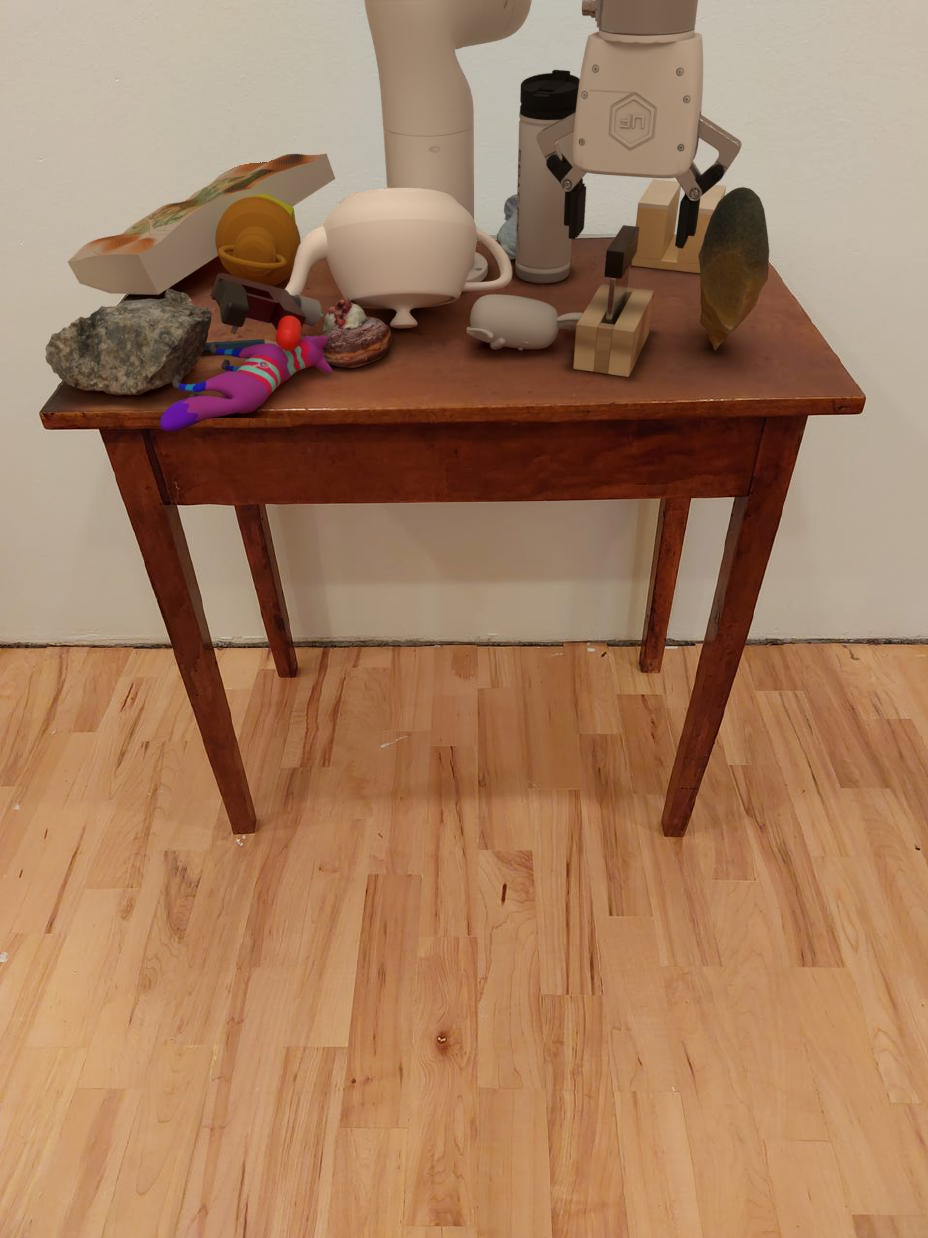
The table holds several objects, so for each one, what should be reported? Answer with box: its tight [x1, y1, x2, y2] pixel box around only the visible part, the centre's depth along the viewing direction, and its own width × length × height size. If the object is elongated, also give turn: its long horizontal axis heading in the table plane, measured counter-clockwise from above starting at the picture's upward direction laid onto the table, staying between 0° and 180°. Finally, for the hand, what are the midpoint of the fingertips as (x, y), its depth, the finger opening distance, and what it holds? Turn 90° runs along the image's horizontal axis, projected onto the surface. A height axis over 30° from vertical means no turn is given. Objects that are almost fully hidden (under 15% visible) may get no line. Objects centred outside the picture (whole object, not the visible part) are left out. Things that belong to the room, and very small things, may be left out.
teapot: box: [284, 187, 513, 329], centre depth 92 cm, size 25×16×12 cm
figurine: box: [496, 193, 517, 261], centre depth 111 cm, size 8×12×7 cm, turn 171°
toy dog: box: [159, 335, 333, 432], centre depth 83 cm, size 4×18×10 cm
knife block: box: [572, 284, 655, 378], centre depth 89 cm, size 10×5×4 cm, turn 161°
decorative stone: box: [698, 186, 770, 351], centre depth 85 cm, size 10×6×15 cm, turn 4°
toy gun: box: [209, 272, 325, 351], centre depth 84 cm, size 10×12×5 cm
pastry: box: [316, 296, 393, 369], centre depth 89 cm, size 8×8×5 cm
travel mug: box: [514, 69, 580, 285], centre depth 99 cm, size 6×7×20 cm
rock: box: [44, 288, 213, 397], centre depth 85 cm, size 14×10×10 cm
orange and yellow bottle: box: [215, 194, 302, 287], centre depth 102 cm, size 9×9×25 cm
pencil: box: [202, 338, 277, 354], centre depth 91 cm, size 1×1×15 cm
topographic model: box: [67, 153, 336, 296], centre depth 108 cm, size 30×14×5 cm, turn 145°
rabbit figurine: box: [465, 293, 584, 351], centre depth 90 cm, size 6×5×12 cm
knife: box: [603, 224, 639, 325], centre depth 87 cm, size 7×2×11 cm, turn 161°
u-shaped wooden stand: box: [630, 178, 727, 274], centre depth 107 cm, size 9×9×7 cm
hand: (628, 238), depth 83 cm, fingers open, 9 cm apart
